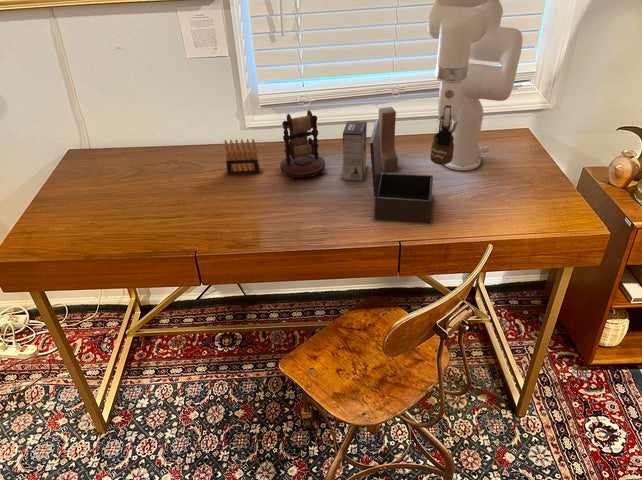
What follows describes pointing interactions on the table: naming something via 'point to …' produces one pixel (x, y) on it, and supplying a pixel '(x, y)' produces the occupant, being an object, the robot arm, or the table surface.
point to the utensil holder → (442, 149)
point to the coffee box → (354, 150)
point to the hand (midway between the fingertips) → (444, 139)
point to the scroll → (301, 147)
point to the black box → (404, 198)
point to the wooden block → (387, 138)
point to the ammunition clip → (237, 160)
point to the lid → (375, 157)
